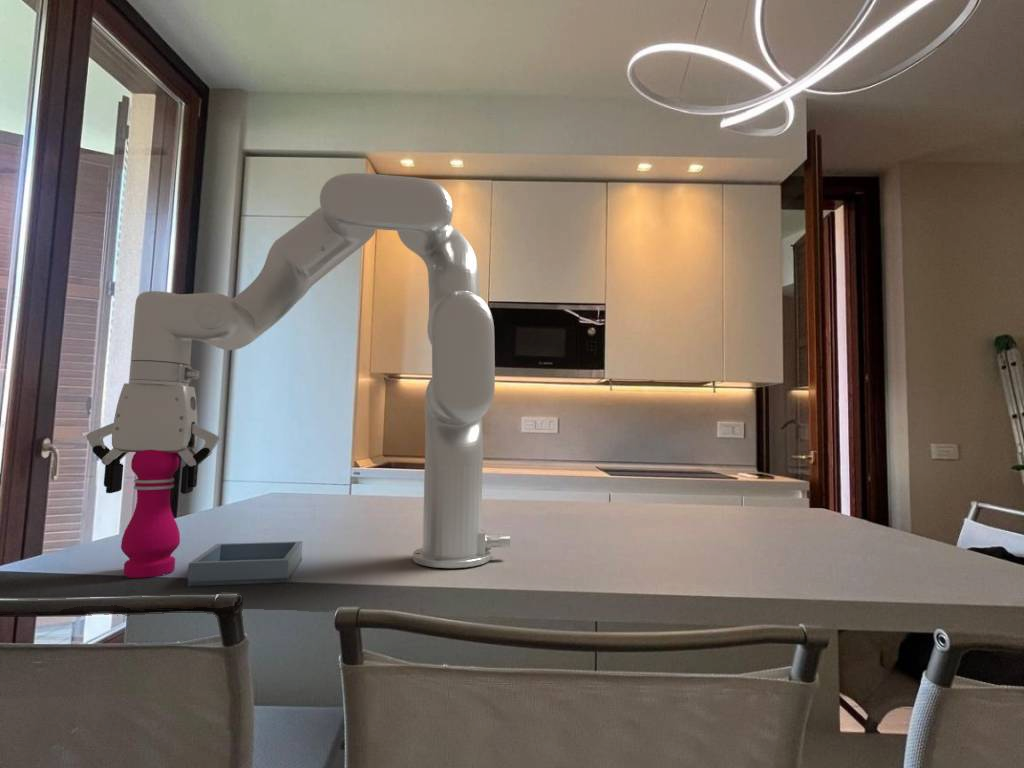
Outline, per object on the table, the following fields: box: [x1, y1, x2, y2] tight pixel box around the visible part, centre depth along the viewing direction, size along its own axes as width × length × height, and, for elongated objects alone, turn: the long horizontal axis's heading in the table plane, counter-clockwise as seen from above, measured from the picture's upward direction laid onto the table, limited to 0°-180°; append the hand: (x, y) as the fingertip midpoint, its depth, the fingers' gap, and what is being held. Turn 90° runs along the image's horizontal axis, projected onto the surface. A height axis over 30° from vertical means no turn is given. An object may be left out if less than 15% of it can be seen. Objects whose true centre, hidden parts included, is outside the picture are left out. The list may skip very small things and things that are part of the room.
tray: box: [187, 540, 303, 587], centre depth 83 cm, size 13×13×3 cm
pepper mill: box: [120, 450, 181, 579], centre depth 83 cm, size 7×7×20 cm
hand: (150, 492), depth 83 cm, fingers open, 9 cm apart
